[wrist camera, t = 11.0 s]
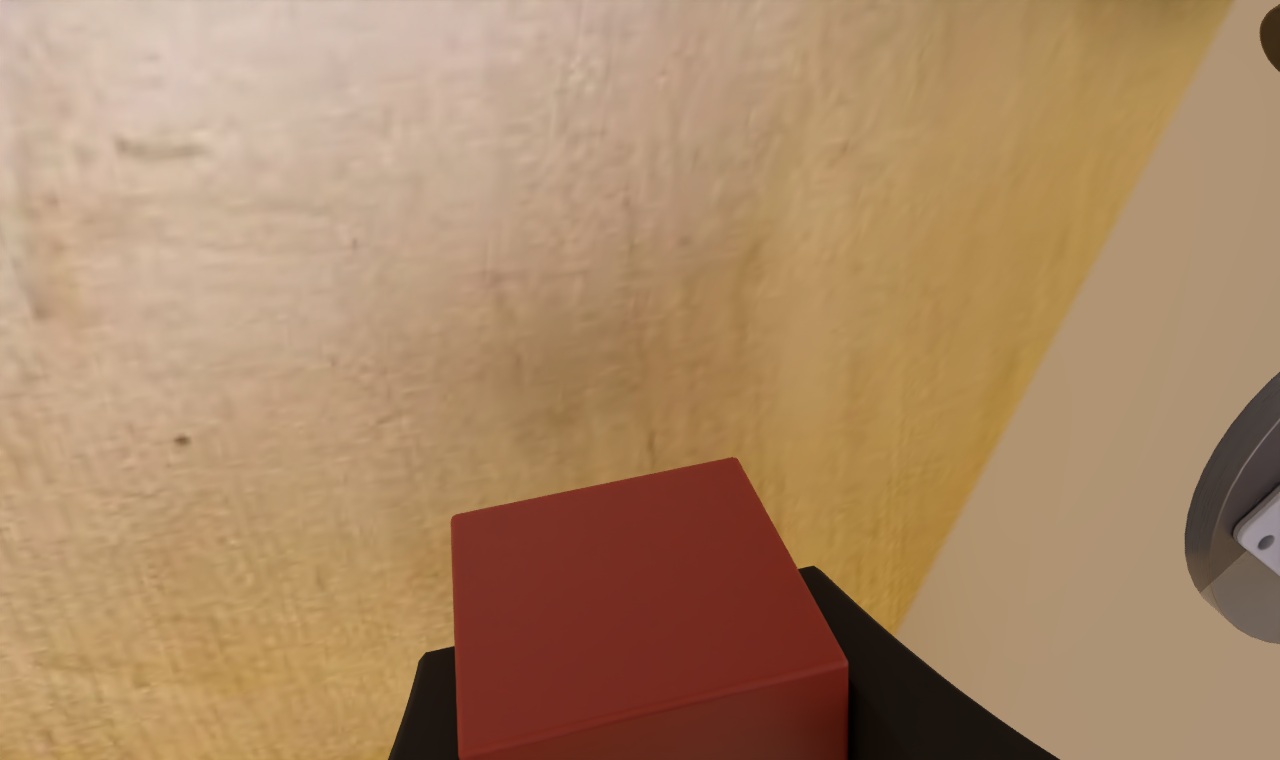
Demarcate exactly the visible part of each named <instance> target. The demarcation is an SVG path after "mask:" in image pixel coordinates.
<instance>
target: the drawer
mask: <svg viewBox="0 0 1280 760" xmlns="http://www.w3.org/2000/svg"><path fill="white" fill-rule="evenodd" d="M1260 41H1261V44H1262V48H1263V50H1264V52H1265V54H1266V56H1267V58H1268V60H1269V61H1270V62H1271V64H1272V65H1273V66H1274V67H1275V68H1276V69H1277V70H1278V71H1279V72H1280V4H1279V5H1278V6H1276V7H1275V8H1273V9H1272V10H1270V11H1269V12H1268V13H1267V14H1266V16H1265V17H1264V19H1263V21H1262V23H1261V26H1260Z"/></svg>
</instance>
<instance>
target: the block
mask: <svg viewBox="0 0 1280 760" xmlns="http://www.w3.org/2000/svg"><path fill="white" fill-rule="evenodd" d="M451 547H452V578H453V609H454V640H455V671H456V703H457V734H458V756H459V760H848V660H847V659H846V657H845V655H844V653H843V651H842V649H841V648H840V646H839V644H838V642H837V640H836V638H835V637H834V635H833V633H832V631H831V629H830V627H829V626H828V624H827V622H826V620H825V618H824V616H823V615H822V613H821V611H820V609H819V607H818V605H817V604H816V602H815V600H814V598H813V596H812V594H811V593H810V591H809V589H808V587H807V585H806V583H805V582H804V580H803V578H802V576H801V574H800V572H799V571H798V569H797V567H796V565H795V563H794V561H793V560H792V558H791V556H790V554H789V552H788V550H787V549H786V547H785V545H784V543H783V541H782V539H781V538H780V536H779V534H778V532H777V530H776V528H775V527H774V525H773V523H772V521H771V519H770V518H769V516H768V514H767V512H766V510H765V508H764V507H763V505H762V503H761V501H760V499H759V497H758V496H757V494H756V492H755V490H754V488H753V486H752V485H751V483H750V481H749V479H748V477H747V475H746V474H745V472H744V470H743V468H742V466H741V464H740V463H739V461H738V459H737V458H733V457H731V458H726V459H721V460H717V461H712V462H707V463H702V464H697V465H692V466H688V467H683V468H678V469H673V470H668V471H663V472H659V473H654V474H649V475H644V476H639V477H634V478H630V479H625V480H620V481H615V482H610V483H605V484H600V485H596V486H591V487H586V488H581V489H576V490H571V491H567V492H562V493H557V494H552V495H547V496H542V497H538V498H533V499H528V500H523V501H518V502H513V503H509V504H504V505H499V506H494V507H489V508H484V509H480V510H475V511H470V512H465V513H460V514H456V515H454V516H452V519H451Z"/></svg>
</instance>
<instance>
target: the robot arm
mask: <svg viewBox="0 0 1280 760" xmlns="http://www.w3.org/2000/svg"><path fill="white" fill-rule="evenodd" d="M1233 537H1234V539H1235V541H1237V542H1238V543H1239V544H1240V545H1242V546H1243V547H1244V548H1245V549H1247V550H1248V551H1249V552H1250V553H1251V554H1253V555H1254V556H1255V557H1256V558H1258V559H1259V560H1260V561H1261V562H1263V563H1264V564H1265V565H1266V566H1268V567H1269V568H1270V569H1271V570H1273V571H1274V572H1275V573H1276V574H1277V575H1279V576H1280V485H1279V486H1278V487H1276V488H1275V489H1274V490H1273V491H1272V492H1271V493H1270V494H1269V495H1268V496H1267V497H1266V498H1265V499H1263V500H1262V501H1261V502H1260V503H1259V504H1258V505H1257V506H1256V507H1255V508H1254V509H1253V510H1252V511H1250V512H1249V513H1248V514H1247V515H1246V516H1245V517H1244V518H1243V519H1242V520H1241V521H1240V522H1239V523H1238V524H1237V525H1236V527H1235V529H1234V532H1233ZM798 571H799V572H800V574H801V576H802V578H803V580H804V582H805V583H806V585H807V587H808V589H809V591H810V593H811V594H812V596H813V598H814V600H815V602H816V604H817V605H818V607H819V609H820V611H821V613H822V615H823V616H824V618H825V620H826V622H827V624H828V626H829V627H830V629H831V631H832V633H833V635H834V637H835V638H836V640H837V642H838V644H839V646H840V648H841V649H842V651H843V653H844V655H845V657H846V659H847V660H848V760H1060V759H1058V758H1056V757H1055V756H1054V755H1052V754H1051V753H1049V752H1047V751H1046V750H1044V749H1042V748H1041V747H1040V746H1038V745H1036V744H1035V743H1033V742H1032V741H1030V740H1029V739H1027V738H1026V737H1024V736H1023V735H1021V734H1020V733H1018V732H1017V731H1016V730H1014V729H1013V728H1011V727H1010V726H1008V725H1007V724H1005V723H1004V722H1002V721H1001V720H1000V719H998V718H997V717H995V716H994V715H993V714H991V713H990V712H989V711H987V710H986V709H985V708H983V707H982V706H981V705H979V704H978V703H976V702H975V701H973V700H972V699H971V698H970V697H968V696H967V695H965V694H964V693H963V692H962V691H960V690H959V689H958V688H956V687H955V686H954V685H953V684H951V683H950V682H949V681H947V680H946V679H944V678H943V677H942V676H941V675H939V674H938V673H937V672H936V671H935V670H933V669H932V668H931V667H930V666H929V665H927V664H926V663H925V662H924V661H922V660H921V659H920V658H919V657H918V656H916V655H915V654H914V653H913V652H911V651H910V650H909V649H908V648H907V647H905V646H904V645H903V644H902V643H901V642H899V641H898V640H897V639H896V638H895V637H894V636H892V635H891V634H890V633H889V632H888V631H887V630H885V629H884V628H883V627H882V626H881V625H880V624H879V623H878V622H876V621H875V620H874V619H873V618H872V617H871V616H870V615H868V614H867V613H866V612H865V611H864V610H863V609H862V608H861V607H860V606H859V605H857V604H856V603H855V602H854V601H853V600H852V599H851V598H850V597H849V596H848V595H847V594H845V593H844V592H843V591H842V590H841V589H840V588H839V587H838V586H837V585H836V584H835V583H834V582H833V581H832V580H831V579H829V578H828V577H827V576H826V575H825V574H824V573H823V572H822V571H821V570H819V569H818V568H816V567H815V566H810V567H805V568H801V569H798ZM388 760H459V756H458V734H457V703H456V671H455V646H453V647H449V648H444V649H440V650H435V651H431V652H426V653H425V654H424V655H423V657H422V658H421V659H420V660H419V662H418V667H417V671H416V675H415V679H414V683H413V686H412V690H411V693H410V697H409V700H408V703H407V706H406V710H405V713H404V716H403V719H402V722H401V725H400V728H399V730H398V733H397V736H396V739H395V742H394V745H393V748H392V751H391V753H390V756H389V758H388Z"/></svg>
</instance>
